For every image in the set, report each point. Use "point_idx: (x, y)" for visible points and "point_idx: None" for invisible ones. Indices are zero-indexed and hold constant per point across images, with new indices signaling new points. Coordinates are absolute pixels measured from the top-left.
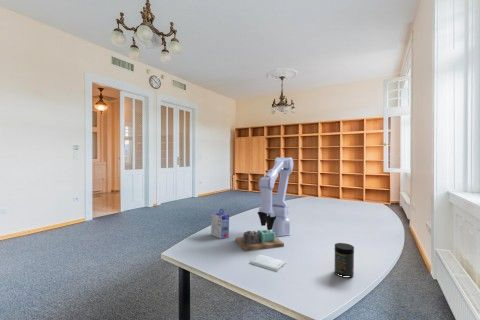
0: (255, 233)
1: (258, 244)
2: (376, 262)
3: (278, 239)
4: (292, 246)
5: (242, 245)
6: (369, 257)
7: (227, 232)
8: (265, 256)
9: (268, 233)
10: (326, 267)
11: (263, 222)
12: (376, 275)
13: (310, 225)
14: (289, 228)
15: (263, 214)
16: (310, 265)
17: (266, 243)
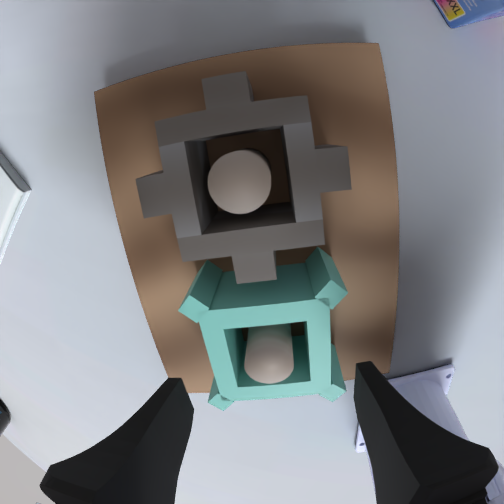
0: (231, 230)
1: (155, 216)
2: None
3: None
4: None
5: (161, 70)
6: None
7: (462, 2)
8: (2, 218)
9: (210, 360)
10: (9, 394)
11: (364, 408)
12: (15, 443)
13: None
14: (371, 474)
15: (392, 502)
16: (4, 365)
17: (173, 288)
